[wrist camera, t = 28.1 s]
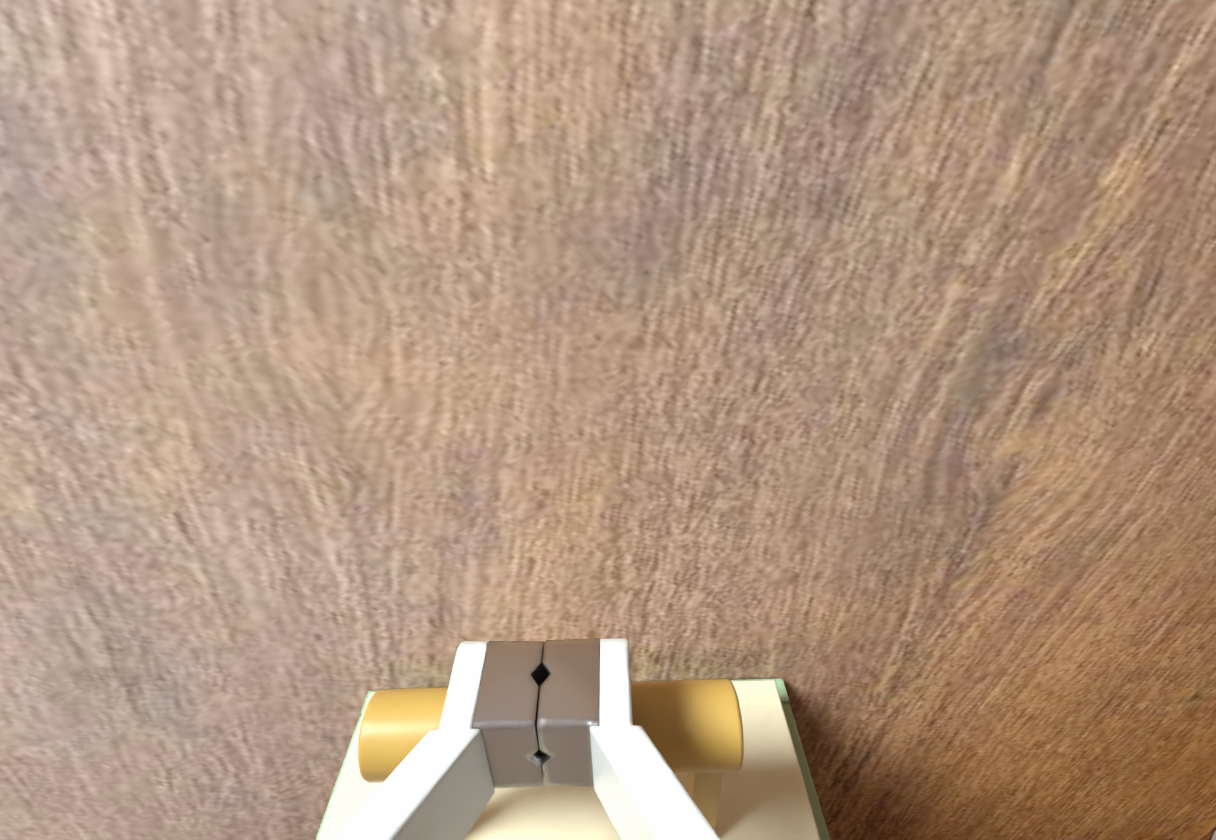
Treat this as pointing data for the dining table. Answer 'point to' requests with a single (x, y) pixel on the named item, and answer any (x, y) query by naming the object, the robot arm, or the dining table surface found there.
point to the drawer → (573, 815)
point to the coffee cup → (1214, 836)
